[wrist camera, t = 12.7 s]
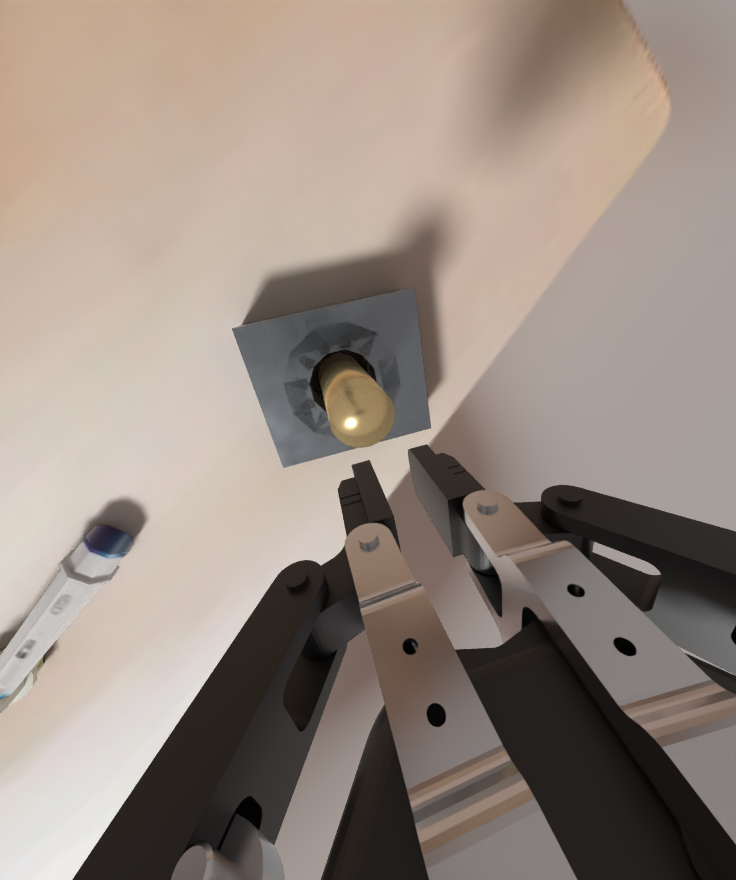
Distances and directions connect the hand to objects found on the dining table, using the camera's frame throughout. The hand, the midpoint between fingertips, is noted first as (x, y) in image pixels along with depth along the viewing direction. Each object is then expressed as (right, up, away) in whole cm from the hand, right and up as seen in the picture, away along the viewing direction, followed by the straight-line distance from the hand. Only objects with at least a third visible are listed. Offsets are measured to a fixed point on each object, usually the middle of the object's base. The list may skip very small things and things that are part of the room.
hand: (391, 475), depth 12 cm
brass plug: (-4, +8, +17) cm, 19 cm away
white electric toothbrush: (-34, -16, +22) cm, 44 cm away
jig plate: (-4, +8, +17) cm, 19 cm away
